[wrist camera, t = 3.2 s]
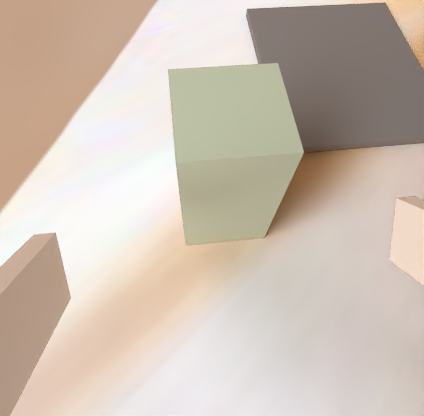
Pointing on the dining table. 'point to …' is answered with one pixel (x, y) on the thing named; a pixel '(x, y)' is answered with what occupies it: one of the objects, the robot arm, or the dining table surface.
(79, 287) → the dining table surface
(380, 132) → the mat
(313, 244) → the dining table surface
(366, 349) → the dining table surface
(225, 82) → the sage block
